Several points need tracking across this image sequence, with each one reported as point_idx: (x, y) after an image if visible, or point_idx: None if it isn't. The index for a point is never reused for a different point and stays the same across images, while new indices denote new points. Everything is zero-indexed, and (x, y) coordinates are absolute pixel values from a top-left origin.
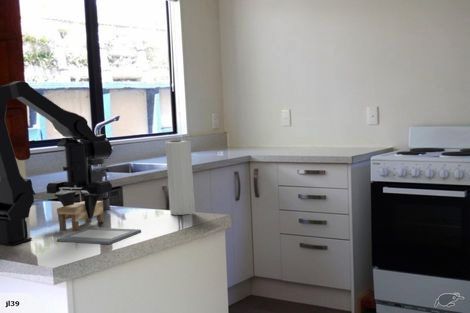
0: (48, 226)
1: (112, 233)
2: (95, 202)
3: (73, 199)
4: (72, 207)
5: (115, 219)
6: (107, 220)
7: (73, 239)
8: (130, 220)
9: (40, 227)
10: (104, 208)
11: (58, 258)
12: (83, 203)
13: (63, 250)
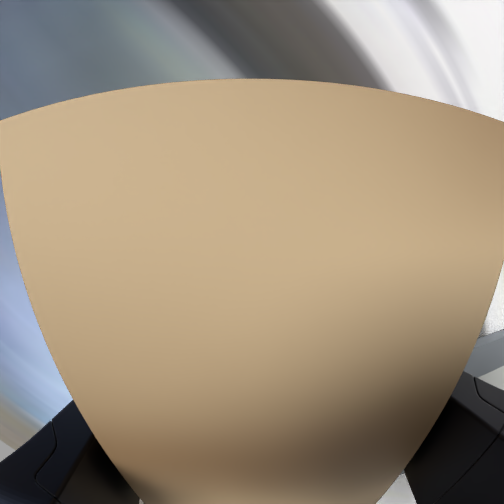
0: (15, 352)
1: (501, 388)
2: (501, 410)
3: (63, 497)
4: None
5: (375, 15)
6: (331, 52)
7: (402, 473)
8: (493, 71)
9: (7, 374)
10: None
11: (414, 498)
12: (268, 434)
13: (404, 489)
